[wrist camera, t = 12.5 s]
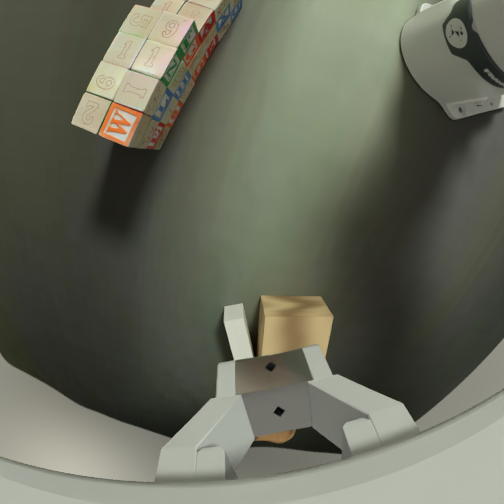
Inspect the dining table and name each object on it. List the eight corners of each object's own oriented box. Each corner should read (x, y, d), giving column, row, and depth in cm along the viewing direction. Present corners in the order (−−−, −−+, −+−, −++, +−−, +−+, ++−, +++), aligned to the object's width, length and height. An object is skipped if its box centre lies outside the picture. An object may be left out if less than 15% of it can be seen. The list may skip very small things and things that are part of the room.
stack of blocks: (199, -8, 28) (188, -62, 17) (243, 7, 29) (247, -47, 18) (116, 133, 33) (68, 124, 21) (160, 152, 34) (126, 148, 22)
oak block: (320, 295, 41) (333, 316, 35) (310, 357, 43) (319, 382, 38) (260, 294, 40) (265, 316, 34) (255, 357, 43) (259, 384, 37)
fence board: (242, 303, 40) (243, 317, 36) (260, 378, 44) (262, 396, 40) (224, 306, 40) (223, 321, 36) (244, 381, 44) (245, 399, 40)
